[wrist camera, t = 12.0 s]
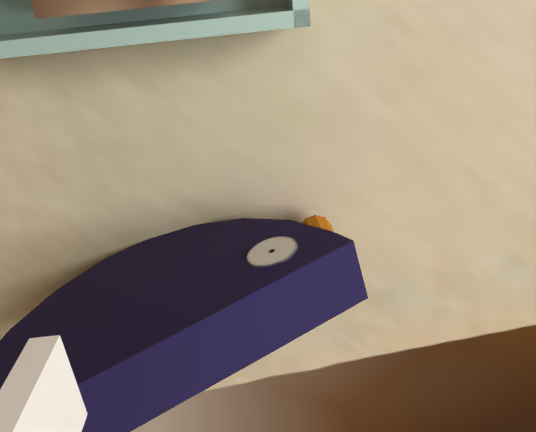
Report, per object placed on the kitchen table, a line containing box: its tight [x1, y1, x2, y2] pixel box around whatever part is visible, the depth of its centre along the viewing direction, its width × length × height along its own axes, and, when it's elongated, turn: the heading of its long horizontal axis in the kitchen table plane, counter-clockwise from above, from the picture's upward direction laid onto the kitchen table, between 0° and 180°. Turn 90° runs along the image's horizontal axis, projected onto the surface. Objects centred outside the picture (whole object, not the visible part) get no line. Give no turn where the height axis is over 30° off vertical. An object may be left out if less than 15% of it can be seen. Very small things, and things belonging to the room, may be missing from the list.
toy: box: [0, 215, 368, 432], centre depth 38 cm, size 30×5×15 cm, turn 107°
